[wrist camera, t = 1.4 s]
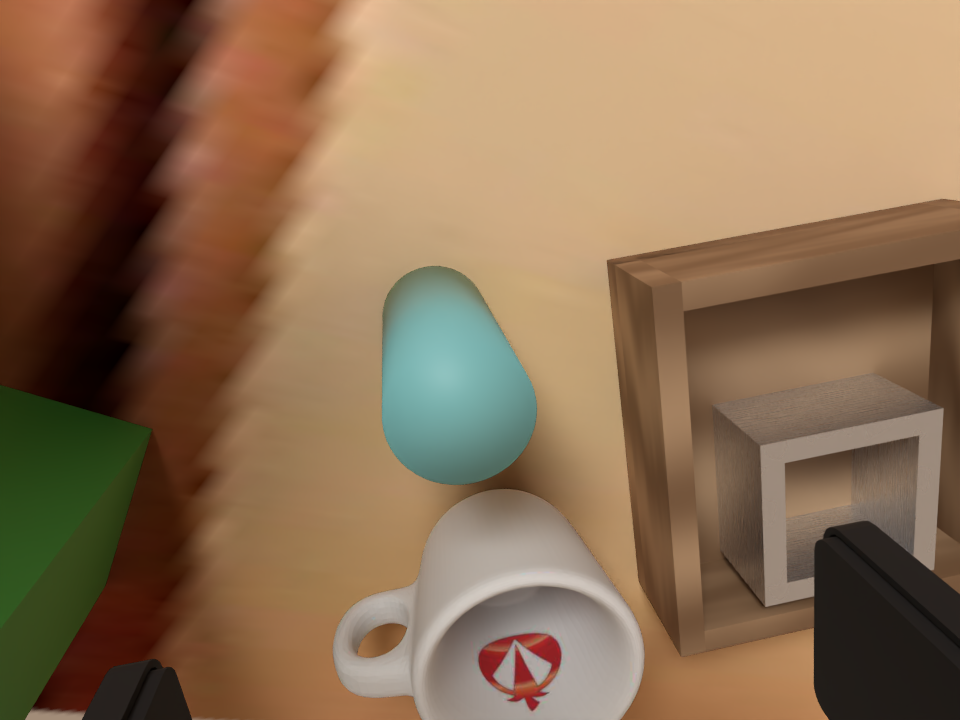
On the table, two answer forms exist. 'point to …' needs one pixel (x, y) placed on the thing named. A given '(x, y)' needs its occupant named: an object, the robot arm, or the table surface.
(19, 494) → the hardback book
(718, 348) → the box
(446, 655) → the cup
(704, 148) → the table surface
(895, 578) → the robot arm
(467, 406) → the plug
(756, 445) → the socket
